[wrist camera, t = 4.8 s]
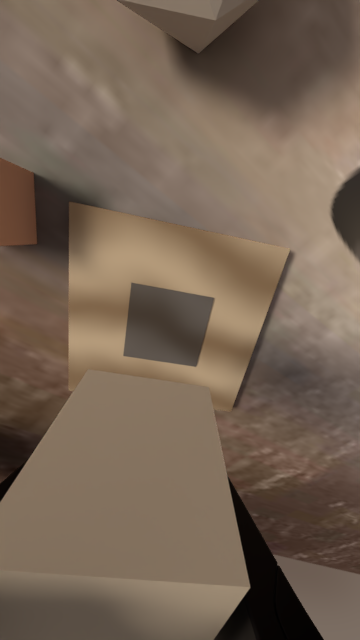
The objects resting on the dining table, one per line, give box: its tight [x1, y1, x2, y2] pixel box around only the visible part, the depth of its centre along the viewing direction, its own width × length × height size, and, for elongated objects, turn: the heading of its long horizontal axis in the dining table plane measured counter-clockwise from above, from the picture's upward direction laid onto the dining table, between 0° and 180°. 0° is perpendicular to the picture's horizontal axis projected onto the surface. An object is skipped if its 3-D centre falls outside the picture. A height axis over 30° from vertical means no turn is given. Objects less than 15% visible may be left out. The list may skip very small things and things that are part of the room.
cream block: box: [0, 369, 250, 640], centre depth 6 cm, size 5×5×5 cm
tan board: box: [69, 202, 290, 412], centre depth 18 cm, size 16×16×1 cm
